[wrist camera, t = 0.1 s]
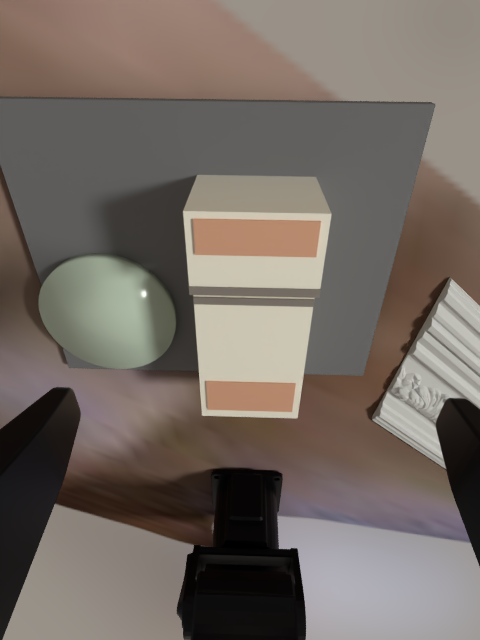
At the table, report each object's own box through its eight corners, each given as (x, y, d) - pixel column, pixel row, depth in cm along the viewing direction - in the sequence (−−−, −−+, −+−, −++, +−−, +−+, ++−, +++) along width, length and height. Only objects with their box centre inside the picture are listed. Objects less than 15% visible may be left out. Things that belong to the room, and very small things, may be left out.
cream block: (307, 249, 22) (319, 298, 18) (201, 247, 22) (189, 295, 18) (315, 176, 20) (331, 214, 16) (197, 174, 20) (182, 212, 16)
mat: (361, 369, 28) (364, 379, 28) (72, 362, 29) (67, 371, 28) (430, 102, 18) (438, 105, 18) (-16, 96, 19) (-28, 99, 18)
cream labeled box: (292, 373, 28) (297, 419, 25) (208, 371, 28) (202, 417, 25) (306, 260, 23) (314, 299, 19) (201, 258, 23) (193, 296, 19)
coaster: (182, 362, 28) (180, 370, 27) (63, 359, 28) (58, 367, 27) (170, 254, 23) (168, 260, 22) (26, 251, 23) (19, 257, 22)
